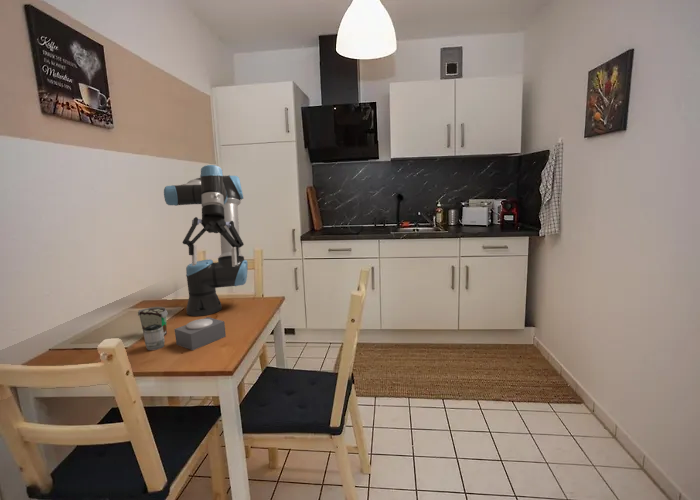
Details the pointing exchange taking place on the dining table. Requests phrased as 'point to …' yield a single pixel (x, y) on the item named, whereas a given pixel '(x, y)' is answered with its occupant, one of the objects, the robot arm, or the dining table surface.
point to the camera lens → (154, 337)
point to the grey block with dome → (200, 333)
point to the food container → (153, 317)
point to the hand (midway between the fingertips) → (215, 265)
